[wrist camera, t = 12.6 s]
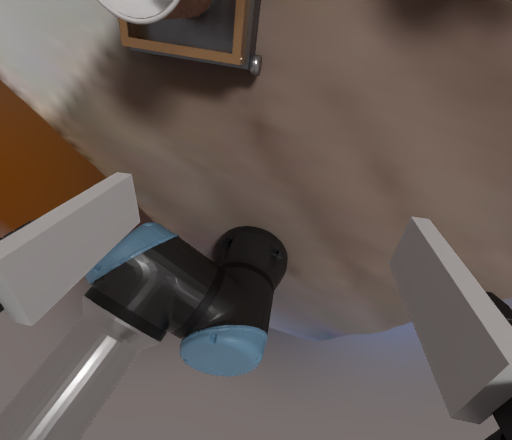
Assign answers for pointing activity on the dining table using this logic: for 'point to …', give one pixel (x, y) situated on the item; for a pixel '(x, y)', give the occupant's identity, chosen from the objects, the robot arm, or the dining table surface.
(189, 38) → the square wooden box
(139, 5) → the coffee cup
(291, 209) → the dining table surface
